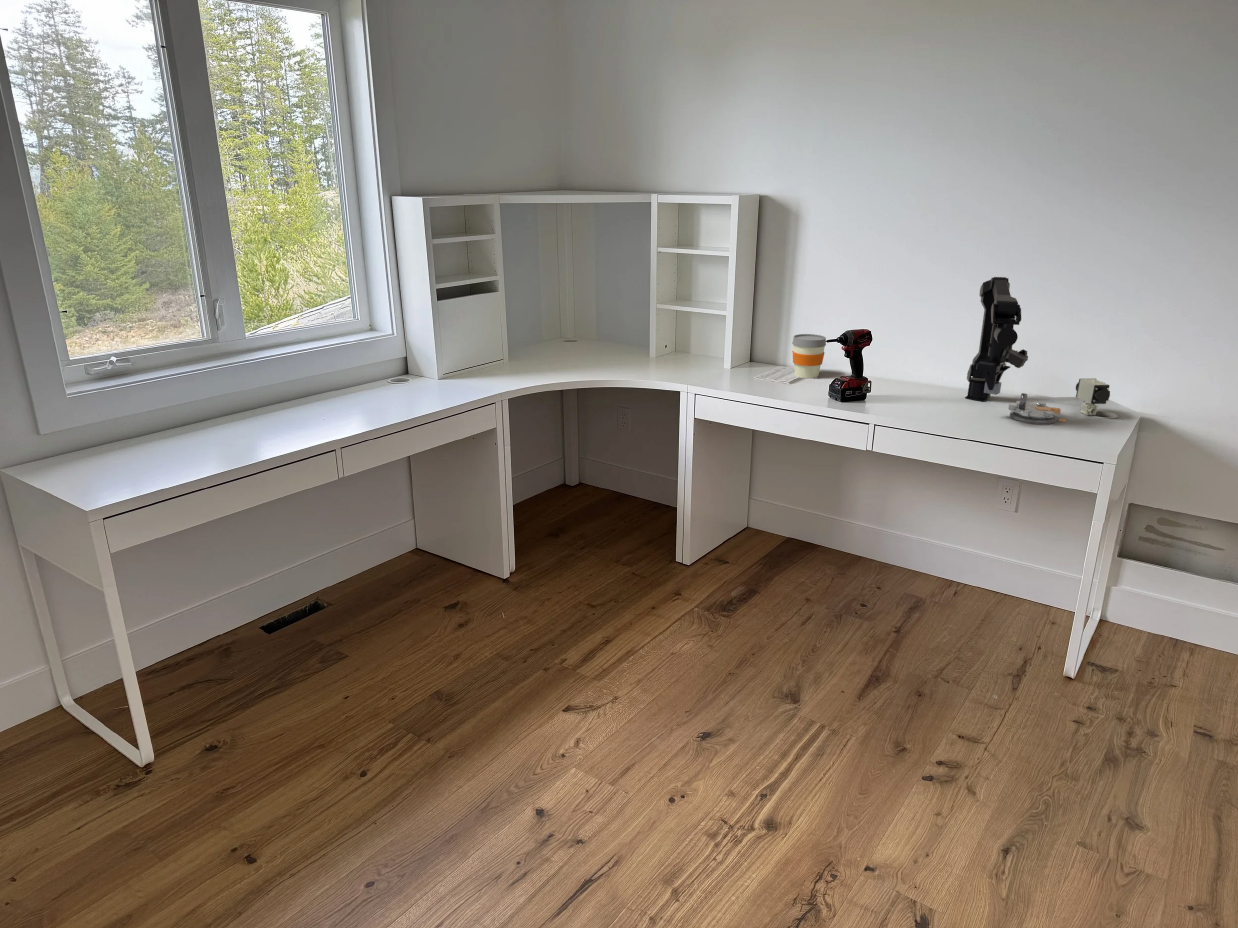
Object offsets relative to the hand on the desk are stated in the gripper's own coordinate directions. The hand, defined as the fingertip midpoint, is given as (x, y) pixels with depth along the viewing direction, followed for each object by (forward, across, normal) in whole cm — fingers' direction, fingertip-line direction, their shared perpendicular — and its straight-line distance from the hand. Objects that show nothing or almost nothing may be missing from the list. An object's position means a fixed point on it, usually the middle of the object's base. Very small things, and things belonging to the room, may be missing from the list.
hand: (992, 389), depth 264 cm
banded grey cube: (+1, 0, 0) cm, 1 cm away
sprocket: (+8, +9, -11) cm, 16 cm away
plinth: (+9, +9, -12) cm, 18 cm away
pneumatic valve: (+10, +27, -23) cm, 37 cm away
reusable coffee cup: (+10, +9, +72) cm, 73 cm away
